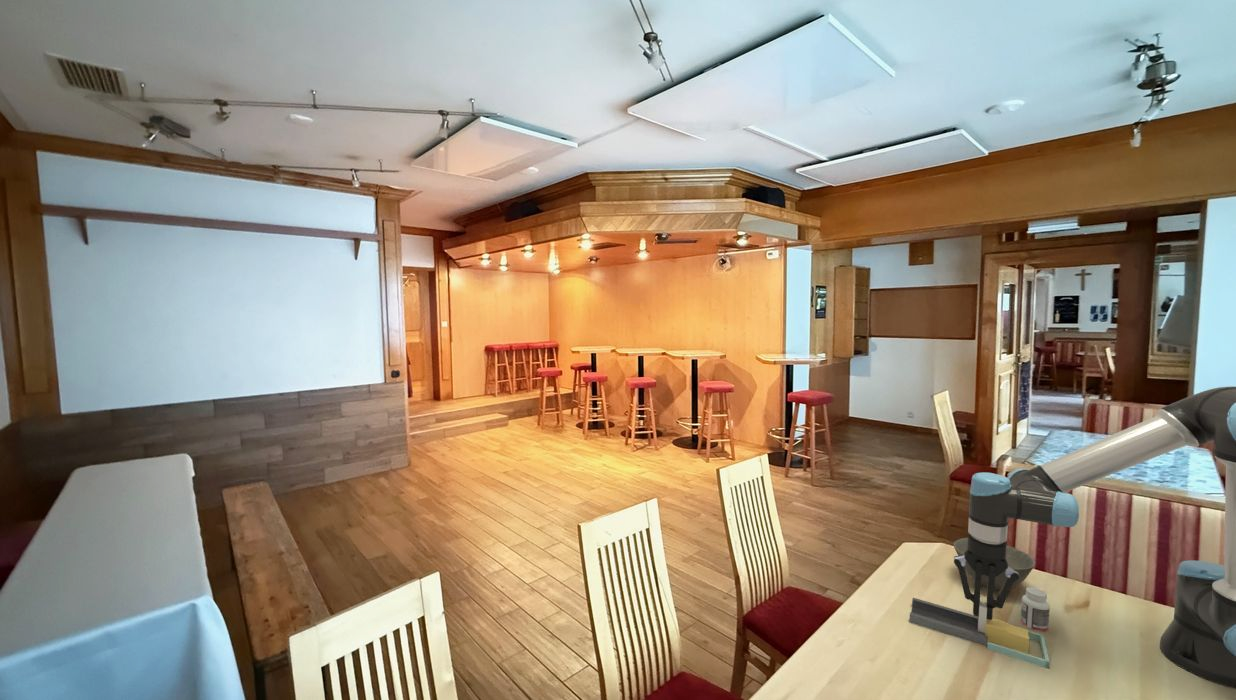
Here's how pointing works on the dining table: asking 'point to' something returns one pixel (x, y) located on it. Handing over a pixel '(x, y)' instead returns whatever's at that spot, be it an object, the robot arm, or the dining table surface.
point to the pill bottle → (1035, 609)
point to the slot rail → (947, 621)
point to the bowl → (1013, 558)
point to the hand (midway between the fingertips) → (981, 629)
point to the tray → (1024, 656)
